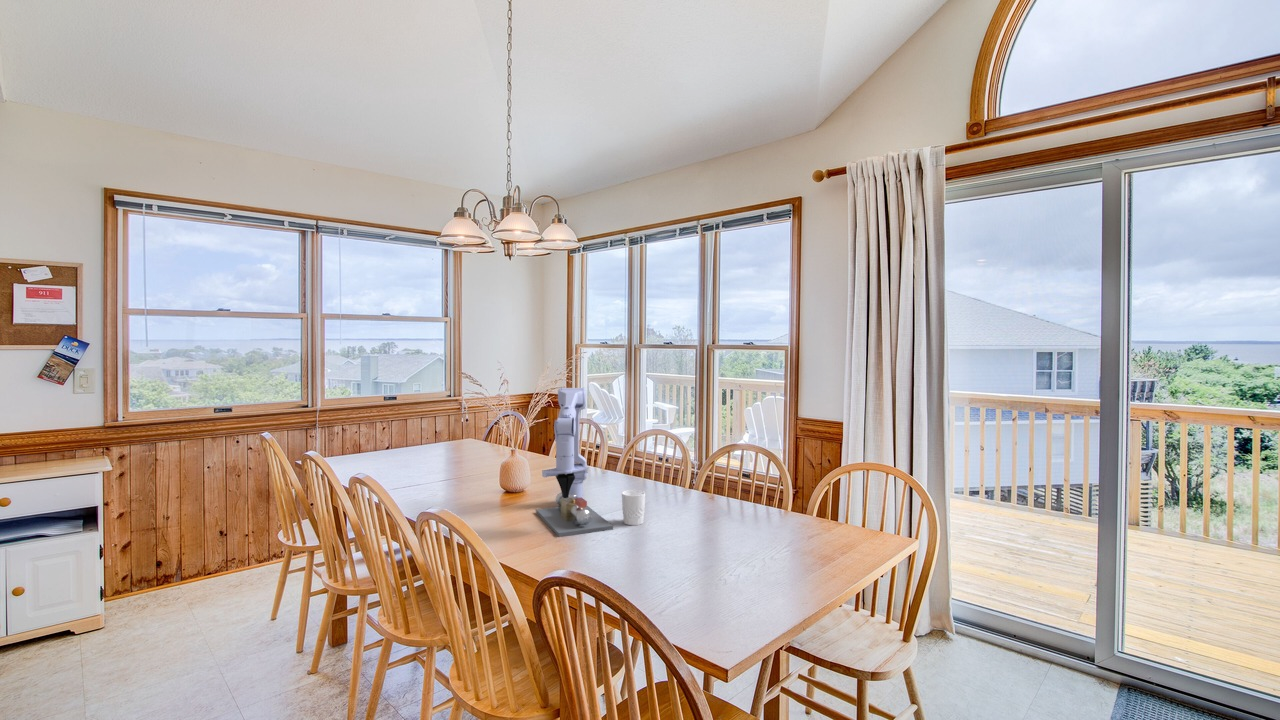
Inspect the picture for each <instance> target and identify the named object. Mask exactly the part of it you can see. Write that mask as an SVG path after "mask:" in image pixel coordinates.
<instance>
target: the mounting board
mask: <svg viewBox="0 0 1280 720" xmlns="http://www.w3.org/2000/svg"><path fill="white" fill-rule="evenodd" d="M585 509H586V510H588V511H589V512H590V513H591V515H592V519H591V521H590V523H589V524H588V525H580V526H574V525H573V524H572V520H571V521H566V520H565V519H564V518H563V517H562V516H561V512H560V511H559V506H554V507H546V508H537V509H536V510H535V513H536V515H538V516H539V518H541V519H540V520H542V521H543V522H544V523H545V524H546V525H547V526H548V527H549V528H550V530H551V531H552V533H554V534H555V535H556V536H557V537H558V538H562V537H568V536H575V535H581V534H590V533H598V532H605V531H611V530H614V525H613V524H611V523H610V522H609V521H607V520H606V519H605V518H604V517H602V516H601V515H600V514H598V512H596V511H595V510H594V509H592V508H591V507H589V506H588V505H587V507H585Z"/></svg>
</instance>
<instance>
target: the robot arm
mask: <svg viewBox="0 0 1280 720" xmlns="http://www.w3.org/2000/svg"><path fill="white" fill-rule="evenodd" d="M557 391H558V392H557V401H558V405H559V407H560V409H559V412H558V417H557V418H556V419H554V424H553V428H554V429H553V430H554V431H553V432H554V440H555V462H556V463H555V464H556V465H555V467H554V468H550V469H543V470H542V472H541V473H542V475H541V476H542V477H543V478H550V477H555V479H556V481H557V482H558V485H559V488H560V491H561V492H562V497H563V498H568V496H569V494H576V495H577V497H579V498H583V499H584V481H586V480H587V478H588V469H589V468H588V463H587V462H588V461H587V458H586V457H584V456H583V455H582V454H580V415H581V414H580V413H581V411H582V410H585V409H586V407H587V390H586V388H585V387H559V388H558V390H557ZM561 492H560V493H561Z"/></svg>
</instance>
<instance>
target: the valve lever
mask: <svg viewBox="0 0 1280 720" xmlns="http://www.w3.org/2000/svg"><path fill="white" fill-rule="evenodd" d="M569 499H572V500H574V501H575V504H576V505H577V506H579V507H580V508H582V507H587V506H588V501H587V500H585V498H584V497H583V498H578V497H577V495H576V494H569Z"/></svg>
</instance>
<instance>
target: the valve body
mask: <svg viewBox="0 0 1280 720" xmlns="http://www.w3.org/2000/svg"><path fill="white" fill-rule="evenodd" d="M578 498H579V497H578ZM555 502H556V504H557V505H558V507H559V511H560V512H561V516H562V517H563V518H564V519H565V520H566V521H571V520H572V524H573V525H574V526H580V525H588V524H589V523H590V521H591V519H592V515H591V513H590V512H589V511H588V510H586V509H585V507H582V508H580V507H579V506H577V505H576V504H575V501H574V500H572V499H569V496H568V498H563V497H562V492H559V493H557V495H556V496H555Z"/></svg>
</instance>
